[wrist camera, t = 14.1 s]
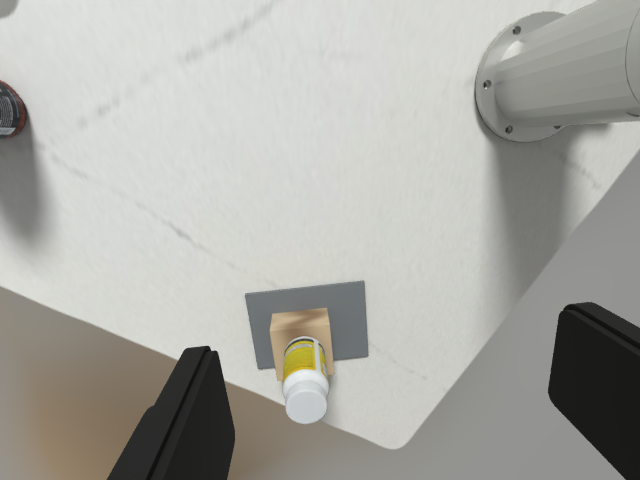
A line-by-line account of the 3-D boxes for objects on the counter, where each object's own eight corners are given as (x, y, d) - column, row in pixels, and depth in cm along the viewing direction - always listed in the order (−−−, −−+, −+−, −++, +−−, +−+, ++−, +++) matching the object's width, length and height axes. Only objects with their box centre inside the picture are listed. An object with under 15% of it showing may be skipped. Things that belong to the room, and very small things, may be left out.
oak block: (326, 307, 42) (329, 324, 38) (331, 353, 44) (334, 374, 40) (272, 313, 41) (269, 331, 38) (279, 360, 44) (277, 381, 40)
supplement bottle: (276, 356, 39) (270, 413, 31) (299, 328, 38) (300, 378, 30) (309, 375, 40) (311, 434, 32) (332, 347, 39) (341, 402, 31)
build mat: (363, 280, 41) (364, 282, 41) (367, 354, 45) (368, 355, 44) (245, 293, 41) (245, 295, 40) (258, 366, 44) (257, 368, 44)
